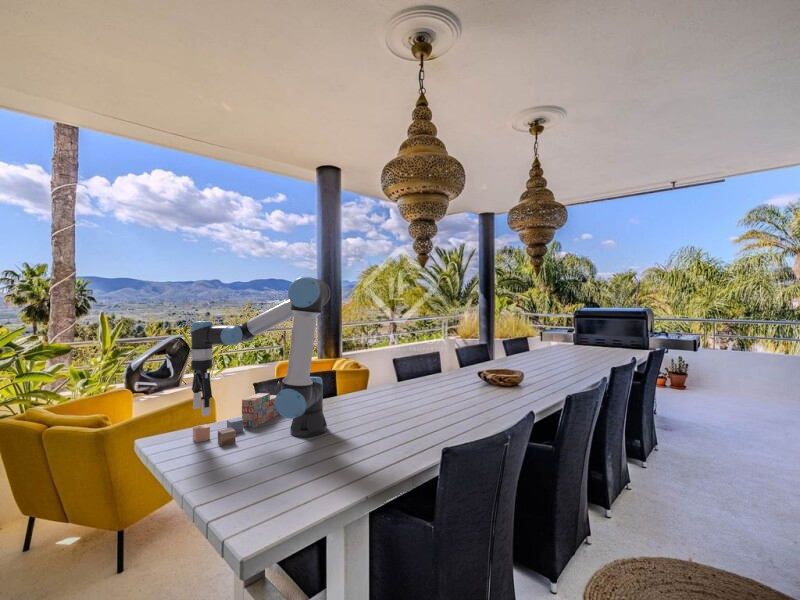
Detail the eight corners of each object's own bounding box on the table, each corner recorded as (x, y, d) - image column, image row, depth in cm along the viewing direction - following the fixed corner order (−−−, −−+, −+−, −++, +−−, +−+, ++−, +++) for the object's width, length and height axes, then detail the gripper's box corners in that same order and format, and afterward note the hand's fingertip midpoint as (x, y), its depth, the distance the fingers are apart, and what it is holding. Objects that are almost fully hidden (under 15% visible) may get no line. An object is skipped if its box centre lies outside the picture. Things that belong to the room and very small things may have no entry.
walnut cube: (235, 443, 140) (235, 430, 140) (221, 446, 137) (221, 433, 137) (231, 440, 144) (231, 427, 144) (217, 443, 140) (217, 430, 140)
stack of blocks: (269, 413, 181) (269, 388, 182) (280, 414, 180) (280, 389, 180) (241, 426, 160) (241, 399, 161) (253, 427, 159) (253, 399, 159)
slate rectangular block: (243, 431, 154) (243, 420, 154) (230, 434, 150) (230, 422, 150) (239, 429, 157) (239, 417, 157) (227, 431, 154) (227, 419, 154)
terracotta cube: (209, 439, 145) (209, 426, 145) (196, 442, 141) (196, 429, 142) (206, 436, 148) (206, 424, 149) (192, 439, 145) (192, 426, 145)
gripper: (184, 357, 152) (183, 407, 152) (199, 363, 134) (199, 420, 134) (203, 355, 158) (203, 404, 157) (221, 361, 139) (220, 416, 139)
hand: (201, 411), depth 145 cm, fingers open, 13 cm apart
